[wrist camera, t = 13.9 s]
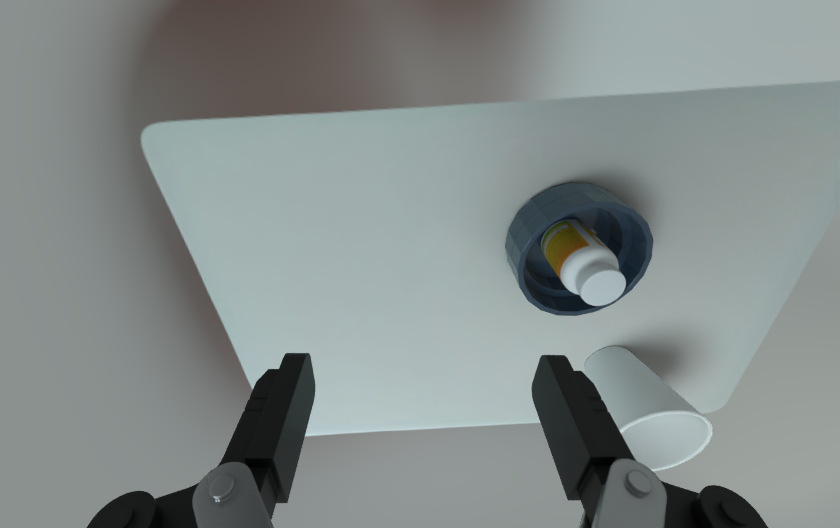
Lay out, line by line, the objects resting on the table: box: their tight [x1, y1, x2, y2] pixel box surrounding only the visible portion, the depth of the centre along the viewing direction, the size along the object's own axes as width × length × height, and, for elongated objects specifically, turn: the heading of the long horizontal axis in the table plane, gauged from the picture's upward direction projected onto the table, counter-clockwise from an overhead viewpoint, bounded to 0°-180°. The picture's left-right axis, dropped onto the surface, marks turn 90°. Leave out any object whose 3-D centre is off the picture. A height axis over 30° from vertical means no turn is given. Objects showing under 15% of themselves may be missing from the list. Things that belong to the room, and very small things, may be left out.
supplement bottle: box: [541, 219, 626, 306], centre depth 36 cm, size 5×5×10 cm
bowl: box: [505, 183, 653, 316], centre depth 38 cm, size 13×13×6 cm
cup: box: [584, 346, 713, 471], centre depth 46 cm, size 12×12×12 cm
